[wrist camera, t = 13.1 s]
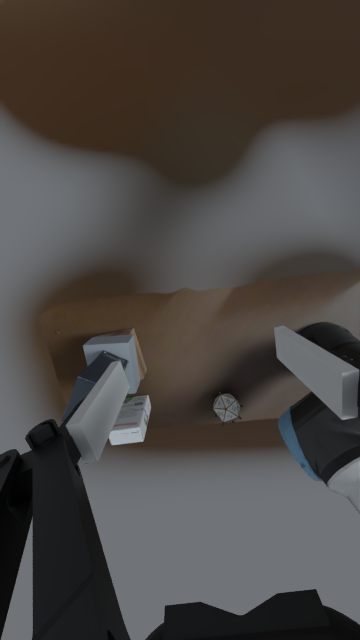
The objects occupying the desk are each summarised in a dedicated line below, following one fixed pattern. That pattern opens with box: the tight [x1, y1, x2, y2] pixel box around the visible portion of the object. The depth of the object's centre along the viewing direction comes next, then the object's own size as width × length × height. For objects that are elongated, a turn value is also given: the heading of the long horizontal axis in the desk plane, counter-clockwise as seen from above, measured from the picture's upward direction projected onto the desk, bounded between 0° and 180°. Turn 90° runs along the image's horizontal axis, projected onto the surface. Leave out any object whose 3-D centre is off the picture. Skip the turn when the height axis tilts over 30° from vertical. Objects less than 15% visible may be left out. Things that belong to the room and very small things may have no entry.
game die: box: [209, 391, 243, 426], centre depth 52 cm, size 9×8×10 cm
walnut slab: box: [97, 328, 147, 380], centre depth 50 cm, size 10×13×5 cm
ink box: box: [108, 395, 151, 445], centre depth 50 cm, size 8×5×12 cm, turn 100°
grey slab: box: [83, 335, 140, 394], centre depth 45 cm, size 10×13×5 cm
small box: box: [62, 350, 129, 421], centre depth 37 cm, size 11×6×10 cm, turn 154°
